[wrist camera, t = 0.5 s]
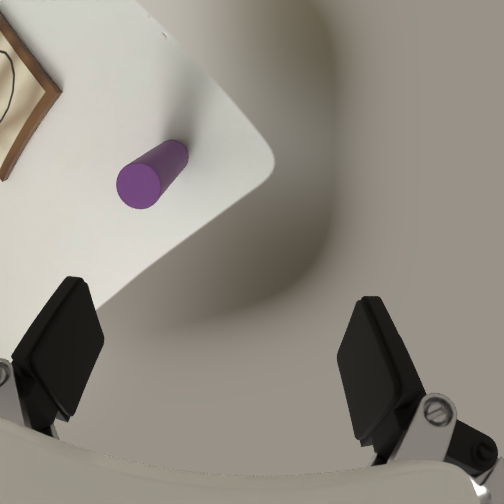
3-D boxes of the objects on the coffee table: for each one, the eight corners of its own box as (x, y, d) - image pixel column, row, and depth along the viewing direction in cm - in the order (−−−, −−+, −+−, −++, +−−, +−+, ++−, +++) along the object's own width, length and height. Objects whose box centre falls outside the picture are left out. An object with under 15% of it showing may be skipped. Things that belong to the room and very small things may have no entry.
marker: (161, 135, 25) (118, 159, 17) (193, 141, 26) (164, 167, 17) (156, 167, 27) (114, 204, 18) (187, 173, 27) (158, 213, 19)
